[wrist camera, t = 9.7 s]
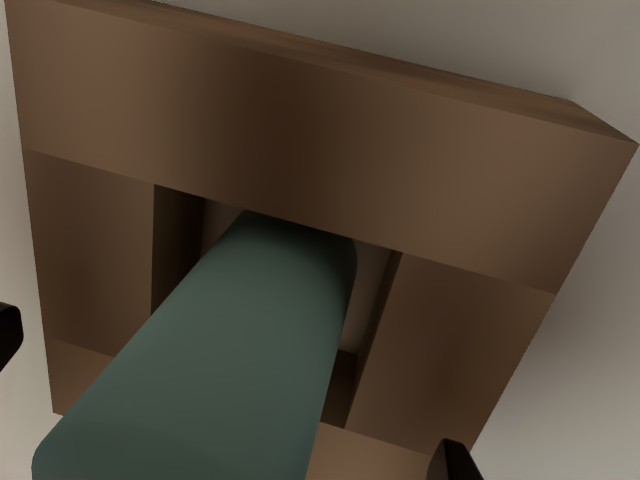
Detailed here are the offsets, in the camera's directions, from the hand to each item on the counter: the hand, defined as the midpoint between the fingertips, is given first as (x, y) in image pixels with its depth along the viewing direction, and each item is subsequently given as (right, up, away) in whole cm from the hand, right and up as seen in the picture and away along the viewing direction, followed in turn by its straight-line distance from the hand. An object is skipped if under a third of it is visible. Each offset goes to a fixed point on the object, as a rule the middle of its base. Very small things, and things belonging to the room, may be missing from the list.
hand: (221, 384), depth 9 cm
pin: (+1, +2, +4) cm, 5 cm away
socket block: (+1, +3, +5) cm, 6 cm away
